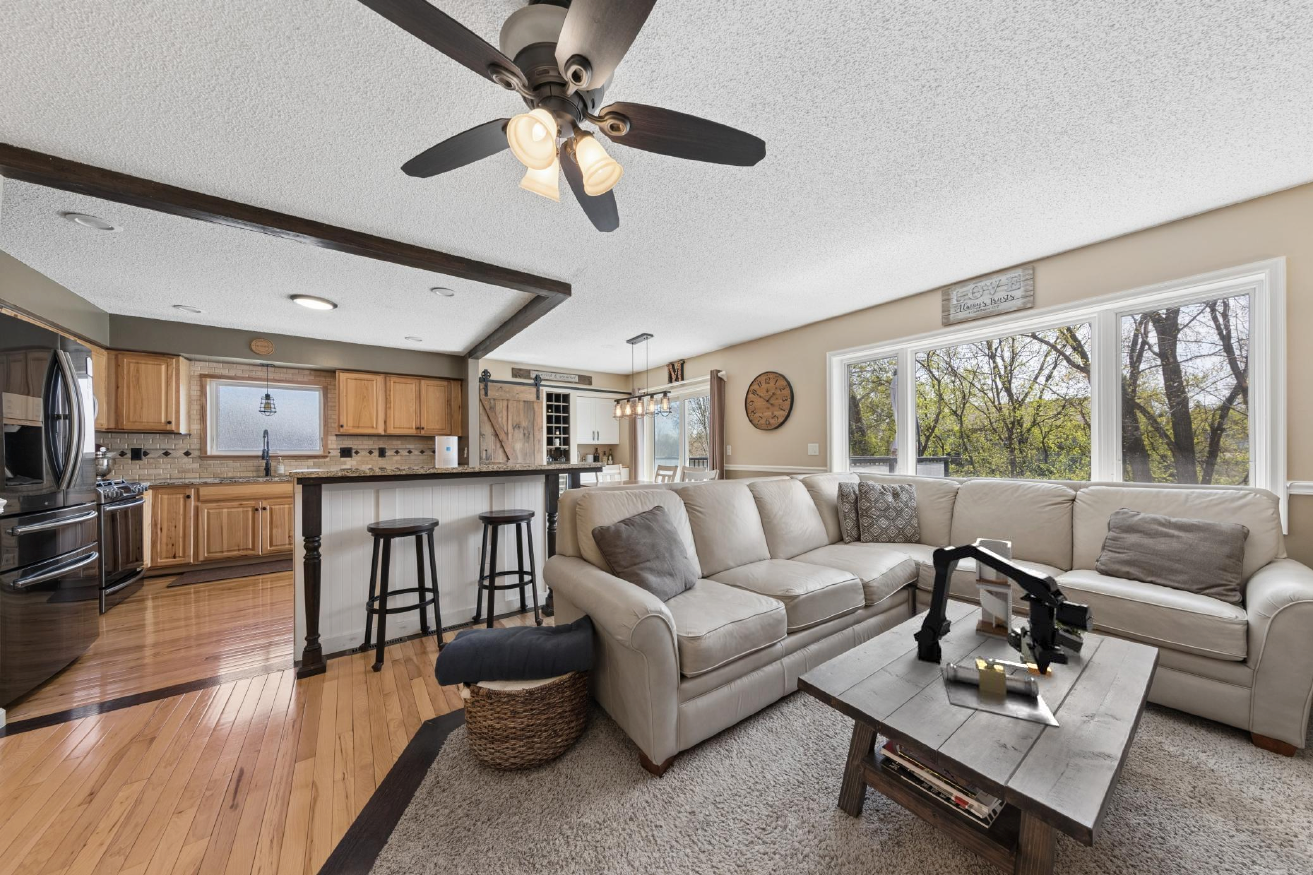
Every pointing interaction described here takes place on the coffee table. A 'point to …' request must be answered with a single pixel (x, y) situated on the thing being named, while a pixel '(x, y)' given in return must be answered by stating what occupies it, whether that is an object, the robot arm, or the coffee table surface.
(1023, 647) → the pneumatic valve
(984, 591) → the white shelf tower
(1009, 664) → the valve lever
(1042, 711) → the pipe on metal plate
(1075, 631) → the house plant
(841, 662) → the coffee table surface
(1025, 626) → the robot arm
